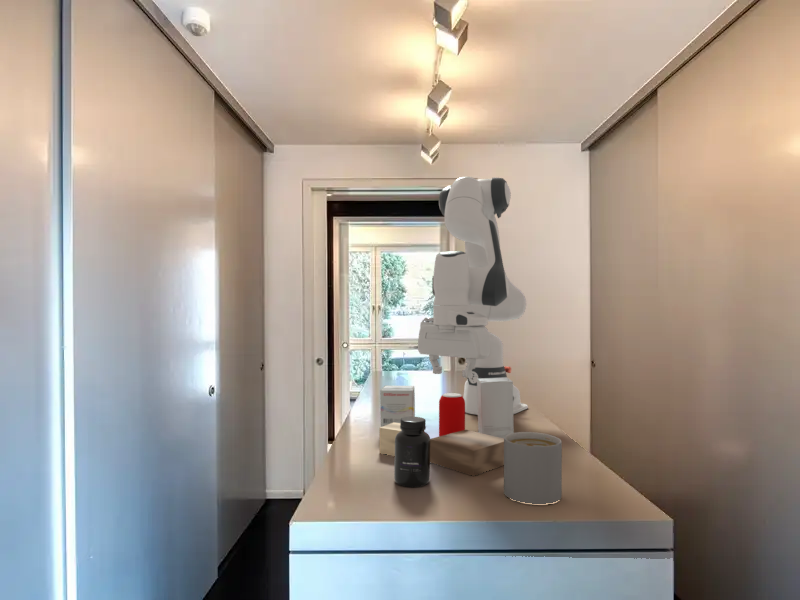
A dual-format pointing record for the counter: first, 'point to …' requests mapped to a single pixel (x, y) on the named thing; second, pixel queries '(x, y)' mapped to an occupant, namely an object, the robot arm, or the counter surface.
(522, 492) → the coffee mug
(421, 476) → the supplement bottle
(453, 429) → the beverage can
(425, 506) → the counter surface
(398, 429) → the oak block
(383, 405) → the ink box
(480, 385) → the skincare box
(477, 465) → the walnut block
